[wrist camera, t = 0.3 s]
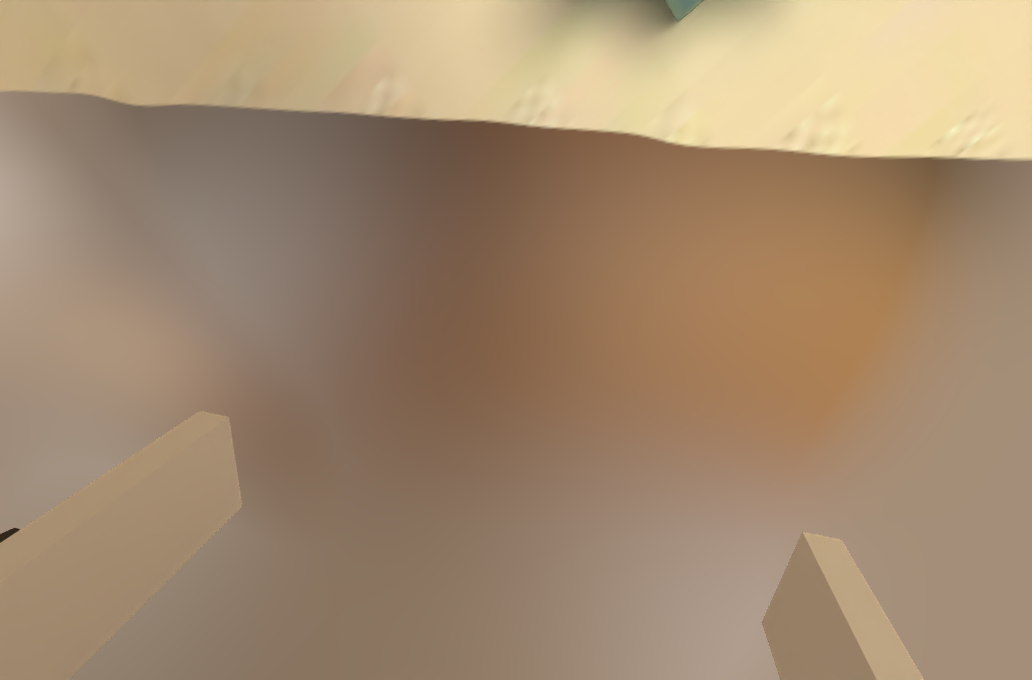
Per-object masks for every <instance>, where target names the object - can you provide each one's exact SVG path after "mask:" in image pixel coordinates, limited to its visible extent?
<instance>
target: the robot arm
mask: <svg viewBox="0 0 1032 680" xmlns="http://www.w3.org/2000/svg"><path fill="white" fill-rule="evenodd" d="M241 507H242V501H241V494H240V488H239V481H238V475H237V468H236V462H235V455H234V448H233V442H232V435H231V428H230V422H229V417H227V416H222V415H217V414H212V413H207V412H202V411H199V412H198V413H196V414H195V415H193V416H192V417H190V418H189V419H187V420H186V421H184V422H182V423H181V424H180V425H178V426H176V427H175V428H173V429H172V430H171V431H169V432H168V433H166V434H164V435H163V436H161V437H160V438H158V439H157V440H155V441H154V442H152V443H151V444H149V445H148V446H146V447H145V448H143V449H142V450H140V451H139V452H137V453H136V454H134V455H133V456H131V457H130V458H128V459H127V460H125V461H123V462H122V463H120V464H119V465H118V466H116V467H114V468H113V469H111V470H110V471H108V472H107V473H105V474H104V475H102V476H101V477H99V478H98V479H96V480H95V481H93V482H92V483H90V484H89V485H87V486H86V487H84V488H83V489H81V490H80V491H78V492H77V493H75V494H74V495H72V496H71V497H69V498H67V499H66V500H65V501H63V502H61V503H60V504H58V505H57V506H56V507H54V508H52V509H51V510H49V511H48V512H46V513H45V514H43V515H42V516H40V517H39V518H37V519H36V520H34V521H33V522H31V523H30V524H28V525H27V526H25V527H24V528H22V529H17V528H13V529H11V530H9V531H6V532H4V533H2V534H0V680H69V679H70V678H71V677H72V675H74V673H76V671H78V669H80V668H81V667H82V666H83V665H84V664H85V663H86V662H87V660H89V659H90V658H91V657H92V656H93V655H94V654H95V653H96V652H97V650H99V649H100V648H101V647H102V645H103V644H104V643H106V642H107V640H109V639H110V638H111V637H112V636H113V635H114V634H115V633H116V632H117V631H118V630H119V628H121V627H122V626H123V625H124V624H125V623H126V621H128V620H129V619H130V618H131V617H132V616H133V615H134V614H135V613H136V612H137V611H138V610H139V609H140V608H141V607H142V606H143V605H144V604H145V603H146V601H148V600H149V599H150V598H151V597H152V596H153V595H154V594H155V593H156V592H157V591H158V590H159V589H160V588H161V587H162V586H163V585H164V584H165V583H166V582H167V581H168V580H169V579H170V578H171V577H172V576H173V575H174V574H175V573H176V572H177V571H178V570H179V569H180V568H181V567H182V566H183V565H184V564H185V563H186V562H187V561H188V560H189V559H190V558H191V557H192V556H193V555H194V553H196V552H197V551H198V550H199V549H200V548H201V547H202V546H203V545H204V544H205V543H206V542H207V541H208V540H209V539H210V538H211V537H212V536H213V535H214V534H215V533H216V532H217V531H218V530H219V529H220V528H221V527H222V526H223V525H224V524H225V523H226V521H228V520H229V519H230V518H231V517H232V516H233V515H234V514H235V513H236V512H237V511H238V510H239V509H240V508H241ZM762 624H763V627H764V631H765V634H766V637H767V640H768V643H769V646H770V649H771V652H772V655H773V658H774V661H775V665H776V668H777V671H778V674H779V677H780V680H924V679H923V677H922V675H921V674H920V672H919V671H918V669H917V667H916V665H915V664H914V662H913V660H912V659H911V657H910V655H909V653H908V652H907V650H906V648H905V647H904V645H903V643H902V642H901V640H900V638H899V636H898V635H897V633H896V631H895V630H894V628H893V626H892V625H891V623H890V621H889V620H888V618H887V616H886V615H885V613H884V611H883V609H882V608H881V606H880V604H879V603H878V601H877V599H876V598H875V596H874V594H873V592H872V591H871V589H870V587H869V586H868V584H867V582H866V581H865V579H864V577H863V576H862V574H861V572H860V570H859V569H858V567H857V565H856V564H855V562H854V560H853V559H852V557H851V555H850V554H849V552H848V550H847V548H846V547H845V545H844V543H843V542H842V540H841V539H836V538H830V537H825V536H820V535H816V534H810V533H806V532H802V534H801V536H800V538H799V541H798V543H797V545H796V547H795V549H794V552H793V554H792V556H791V559H790V561H789V563H788V565H787V567H786V569H785V572H784V574H783V576H782V578H781V581H780V583H779V585H778V587H777V589H776V592H775V594H774V596H773V598H772V601H771V603H770V605H769V607H768V610H767V612H766V614H765V616H764V619H763V621H762Z"/></svg>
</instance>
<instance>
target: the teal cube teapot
mask: <svg viewBox="0 0 1032 680" xmlns="http://www.w3.org/2000/svg"><path fill="white" fill-rule="evenodd" d="M702 1H704V0H665V2H666V3H667V5H668V7H669V8H670V10H671V12H672V13H673V15H674V17H675V18H676V20H677V21H678V22H679V21H680V20H681V19H682V18H684V17H685V16H686V15H687V14H688V13H689V12H691V11H692V10H693V9H694V8H695V7H696V6H698V5H699V4H700V3H701V2H702Z"/></svg>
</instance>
